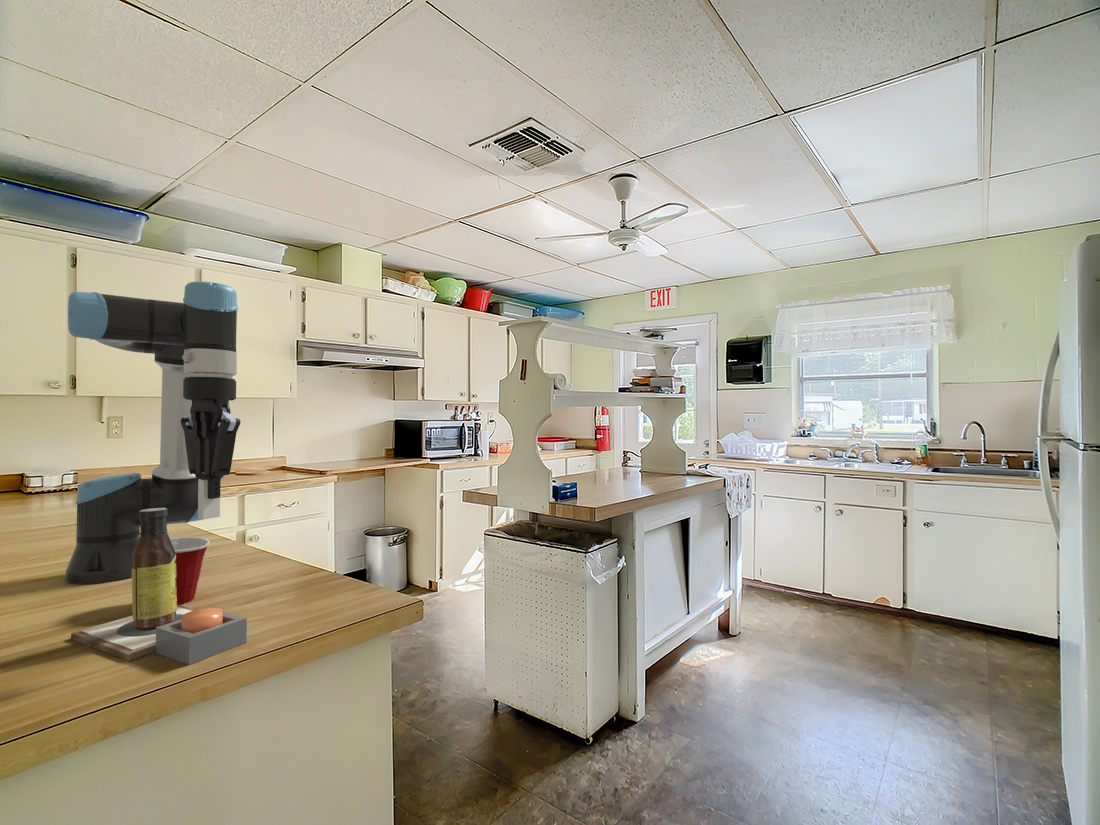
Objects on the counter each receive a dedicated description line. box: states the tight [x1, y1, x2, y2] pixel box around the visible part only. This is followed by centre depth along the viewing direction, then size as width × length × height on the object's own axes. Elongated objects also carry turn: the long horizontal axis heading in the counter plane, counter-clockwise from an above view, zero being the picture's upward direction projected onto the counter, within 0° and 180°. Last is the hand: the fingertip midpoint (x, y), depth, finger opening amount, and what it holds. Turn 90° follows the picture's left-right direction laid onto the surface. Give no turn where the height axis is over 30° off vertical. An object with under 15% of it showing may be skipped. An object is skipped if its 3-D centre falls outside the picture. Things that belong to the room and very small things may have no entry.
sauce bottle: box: [131, 508, 177, 629], centre depth 93 cm, size 6×6×20 cm
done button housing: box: [155, 611, 248, 665], centre depth 87 cm, size 9×9×4 cm
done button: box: [181, 607, 224, 634], centre depth 87 cm, size 6×6×4 cm
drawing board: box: [70, 604, 196, 662], centre depth 93 cm, size 18×16×1 cm
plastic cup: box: [169, 536, 211, 605], centre depth 109 cm, size 11×11×12 cm
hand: (209, 517), depth 90 cm, fingers closed
